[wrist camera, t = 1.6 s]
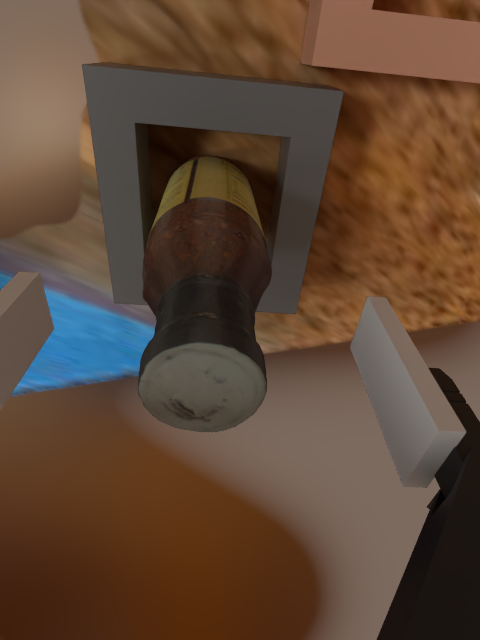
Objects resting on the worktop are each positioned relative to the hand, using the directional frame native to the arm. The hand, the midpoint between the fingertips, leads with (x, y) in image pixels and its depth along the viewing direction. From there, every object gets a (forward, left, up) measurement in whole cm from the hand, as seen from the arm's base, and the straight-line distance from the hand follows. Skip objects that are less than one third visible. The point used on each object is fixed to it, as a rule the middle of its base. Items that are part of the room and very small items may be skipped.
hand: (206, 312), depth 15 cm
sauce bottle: (0, 0, -15) cm, 15 cm away
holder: (0, 0, -15) cm, 15 cm away
